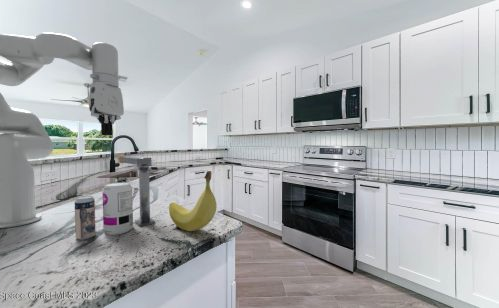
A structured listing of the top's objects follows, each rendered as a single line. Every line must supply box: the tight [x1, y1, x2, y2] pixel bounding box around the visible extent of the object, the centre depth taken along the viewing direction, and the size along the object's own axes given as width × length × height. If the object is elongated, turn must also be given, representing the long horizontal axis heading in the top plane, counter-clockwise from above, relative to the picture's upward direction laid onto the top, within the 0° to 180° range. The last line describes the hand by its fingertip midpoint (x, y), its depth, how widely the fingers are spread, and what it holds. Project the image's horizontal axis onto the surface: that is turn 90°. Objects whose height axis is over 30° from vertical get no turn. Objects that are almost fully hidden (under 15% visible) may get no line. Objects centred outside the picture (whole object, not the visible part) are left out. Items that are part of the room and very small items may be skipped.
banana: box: [168, 170, 217, 232], centre depth 71 cm, size 23×6×20 cm, turn 50°
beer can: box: [74, 195, 97, 241], centre depth 66 cm, size 5×5×12 cm
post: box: [134, 166, 156, 227], centre depth 78 cm, size 5×5×20 cm
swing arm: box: [117, 154, 153, 168], centre depth 85 cm, size 27×5×3 cm, turn 47°
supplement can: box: [102, 181, 134, 236], centre depth 71 cm, size 8×8×15 cm
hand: (107, 135), depth 77 cm, fingers closed
